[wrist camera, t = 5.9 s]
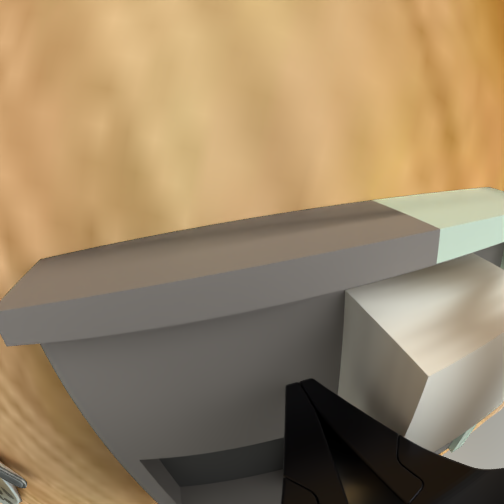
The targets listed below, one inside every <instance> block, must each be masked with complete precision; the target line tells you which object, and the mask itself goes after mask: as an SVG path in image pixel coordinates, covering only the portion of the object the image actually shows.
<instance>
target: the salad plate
mask: <svg viewBox="0 0 504 504" xmlns="http://www.w3.org/2000/svg"><path fill="white" fill-rule="evenodd" d="M16 486H17V487H19V488H26V486H27V482H26V481H25V480H24V479H23V478H22V477H21V476H20V475H18V474H17V473H15V472H14V471H13V470H11V469H10V468H8V467H7V466H5V465H4V464H3V463H2V462H0V503H2V504H19V503H20V502H22V499H21V497H20V494H19V492H18V490H17V488H16Z"/></svg>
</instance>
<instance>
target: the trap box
mask: <svg viewBox="0 0 504 504" xmlns="http://www.w3.org/2000/svg"><path fill="white" fill-rule="evenodd" d="M472 253H474V254H476V255H478V256H479V257H481V258H483V259H485V260H487V261H489V262H491V263H492V264H494V265H496V266H498V267H500V268H502V269H503V270H504V191H501V190H497V189H494V188H491V187H484V188H474V189H464V190H454V191H445V192H436V193H427V194H418V195H410V196H401V197H393V198H385V199H378V200H370V201H363V202H355V203H348V204H341V205H334V206H327V207H320V208H313V209H306V210H300V211H293V212H287V213H280V214H274V215H268V216H262V217H256V218H249V219H243V220H237V221H232V222H226V223H220V224H214V225H209V226H203V227H197V228H192V229H186V230H181V231H176V232H170V233H165V234H160V235H154V236H149V237H144V238H139V239H134V240H129V241H124V242H119V243H114V244H109V245H104V246H99V247H95V248H90V249H85V250H81V251H76V252H71V253H67V254H62V255H58V256H53V257H49V258H44V259H40V260H39V261H38V262H37V263H36V264H35V265H34V266H33V267H32V268H31V269H30V270H29V271H28V272H27V273H26V274H25V275H24V276H23V277H22V278H21V279H20V280H19V281H18V282H17V283H16V284H15V285H14V287H13V288H12V289H11V290H10V291H9V292H8V293H7V294H6V295H5V296H4V297H3V298H2V300H1V301H0V334H1V336H2V338H3V340H4V342H5V344H6V346H17V345H29V344H39V343H40V345H41V346H42V348H43V350H44V352H45V354H46V356H47V358H48V360H49V361H50V363H51V365H52V367H53V369H54V370H55V372H56V374H57V375H58V377H59V379H60V381H61V382H62V384H63V385H64V387H65V389H66V390H67V392H68V393H69V395H70V397H71V398H72V400H73V401H74V403H75V404H76V406H77V407H78V409H79V410H80V412H81V413H82V415H83V416H84V417H85V419H86V420H87V422H88V423H89V424H90V426H91V427H92V429H93V430H94V431H95V433H96V434H97V435H98V437H99V438H100V439H101V440H102V442H103V443H104V444H105V445H106V447H107V448H108V449H109V450H110V452H111V453H112V454H113V455H114V457H115V458H116V459H117V460H118V461H119V462H120V464H121V465H122V466H123V467H124V468H125V469H126V470H127V472H128V473H129V474H130V475H131V476H132V477H133V478H134V479H135V480H136V481H137V483H138V484H139V485H140V486H141V487H142V488H143V489H144V490H145V491H146V492H147V493H148V494H149V495H150V496H151V497H152V498H153V499H154V500H155V501H156V502H157V503H158V504H281V497H282V482H283V461H284V428H285V386H286V385H287V384H291V383H295V382H300V381H302V380H305V379H309V378H313V379H315V380H316V381H318V382H319V383H321V384H322V385H323V386H325V387H326V388H328V389H329V390H331V391H332V392H334V393H335V394H337V395H338V387H339V377H340V367H341V355H342V342H343V327H344V308H345V290H348V289H352V288H356V287H360V286H363V285H367V284H371V283H375V282H378V281H382V280H386V279H389V278H393V277H396V276H400V275H404V274H407V273H411V272H414V271H417V270H421V269H424V268H428V267H431V266H434V265H437V264H441V263H444V262H447V261H450V260H454V259H457V258H460V257H463V256H466V255H469V254H472ZM475 426H476V425H474V426H473V427H471V428H470V429H469V430H467V431H466V432H464V433H463V434H462V435H460V436H459V437H457V438H456V439H454V440H453V441H451V442H450V443H448V444H446V445H445V446H443V447H442V448H440V449H438V450H437V451H435V452H434V453H436V454H440V453H441V452H443V451H444V450H446V449H448V448H449V450H450V451H451V452H454V451H455V450H457V449H458V448H460V447H461V446H462V445H463V444H464V442H465V441H466V439H467V438H468V436H469V435H470V433H471V432H472V430H473V429H474V427H475Z"/></svg>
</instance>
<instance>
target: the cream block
mask: <svg viewBox="0 0 504 504" xmlns="http://www.w3.org/2000/svg"><path fill="white" fill-rule="evenodd" d="M338 396H340V397H341V398H343V399H344V400H346V401H347V402H349V403H350V404H352V405H353V406H355V407H357V408H358V409H360V410H361V411H363V412H364V413H366V414H367V415H369V416H371V417H372V418H374V419H375V420H377V421H378V422H380V423H382V424H383V425H385V426H387V427H388V428H390V429H391V430H393V431H395V432H396V433H398V436H399V435H402V436H403V437H405V438H406V439H408V440H410V441H412V442H414V443H415V444H417V445H419V446H421V447H423V448H425V449H427V450H429V451H432V452H435V451H437V450H438V449H440V448H442V447H443V446H445V445H446V444H448V443H450V442H451V441H453V440H454V439H456V438H457V437H459V436H460V435H462V434H463V433H464V432H466V431H467V430H469V429H470V428H471V427H473V426H474V425H476V424H477V423H478V422H480V421H481V420H482V419H484V418H485V417H486V416H487V415H489V414H490V413H491V412H493V411H494V410H495V409H496V408H497V407H499V406H500V405H501V404H502V403H503V401H504V270H503V269H502V268H500V267H498V266H496V265H494V264H492V263H491V262H489V261H487V260H485V259H483V258H481V257H479V256H478V255H476V254H474V253H472V254H469V255H466V256H463V257H460V258H457V259H454V260H450V261H447V262H444V263H441V264H437V265H434V266H431V267H428V268H424V269H421V270H417V271H414V272H411V273H407V274H404V275H400V276H396V277H393V278H389V279H386V280H382V281H378V282H375V283H371V284H367V285H363V286H360V287H356V288H352V289H348V290H345V308H344V327H343V342H342V355H341V367H340V377H339V387H338Z"/></svg>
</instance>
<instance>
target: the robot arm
mask: <svg viewBox="0 0 504 504" xmlns="http://www.w3.org/2000/svg"><path fill="white" fill-rule="evenodd" d="M281 504H504V468H501V469H478V468H473V467H470V466H467V465H464V464H462V463H459V462H456V461H454V460H451V459H448V458H446V457H443V456H441V455H438V454H436V453H434V452H432V451H429V450H427V449H425V448H423V447H421V446H419V445H417V444H415V443H414V442H412V441H410V440H408V439H406V438H405V437H403V436H402V435H399V436H398V433H396V432H395V431H393V430H391V429H390V428H388V427H387V426H385V425H383V424H382V423H380V422H378V421H377V420H375V419H374V418H372V417H371V416H369V415H367V414H366V413H364V412H363V411H361V410H360V409H358V408H357V407H355V406H353V405H352V404H350V403H349V402H347V401H346V400H344V399H343V398H341V397H340V396H338V395H337V394H335V393H334V392H332V391H331V390H329V389H328V388H326V387H325V386H323V385H322V384H321V383H319V382H318V381H316V380H315V379H313V378H309V379H305V380H302V381H300V382H295V383H291V384H287V385H286V386H285V428H284V461H283V482H282V497H281Z"/></svg>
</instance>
